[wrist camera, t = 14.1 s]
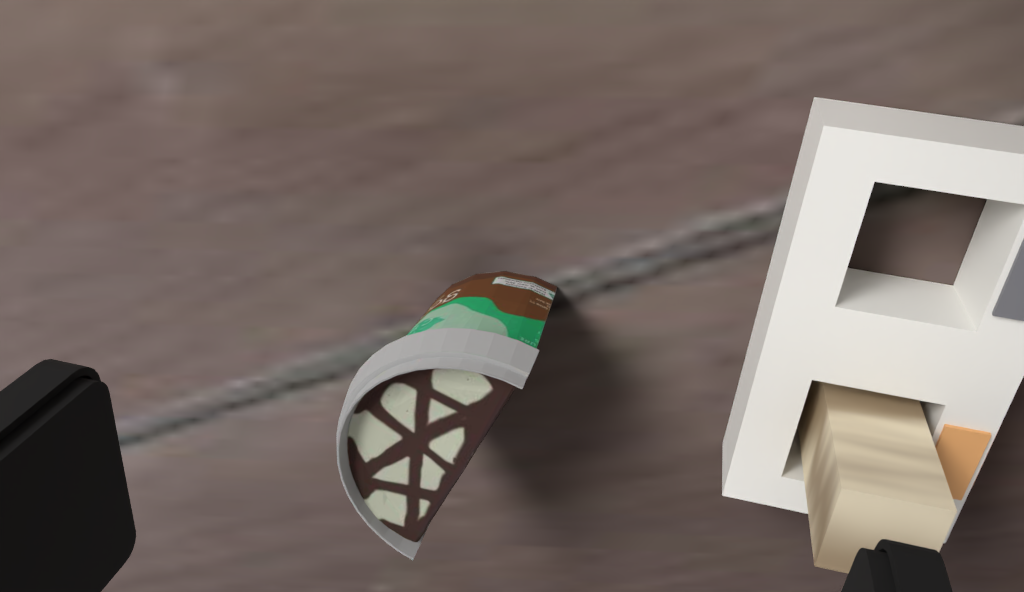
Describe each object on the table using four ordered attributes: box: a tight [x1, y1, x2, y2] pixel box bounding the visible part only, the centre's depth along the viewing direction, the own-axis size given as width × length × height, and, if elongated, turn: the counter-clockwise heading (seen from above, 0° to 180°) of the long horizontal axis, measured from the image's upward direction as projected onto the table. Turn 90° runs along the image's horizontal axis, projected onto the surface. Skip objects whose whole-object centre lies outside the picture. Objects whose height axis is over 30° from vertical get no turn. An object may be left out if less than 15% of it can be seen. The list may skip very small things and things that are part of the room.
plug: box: [798, 380, 957, 573], centre depth 36 cm, size 4×4×10 cm
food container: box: [336, 271, 557, 560], centre depth 39 cm, size 12×6×10 cm, turn 154°
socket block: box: [722, 97, 1024, 543], centre depth 36 cm, size 18×10×4 cm, turn 175°
